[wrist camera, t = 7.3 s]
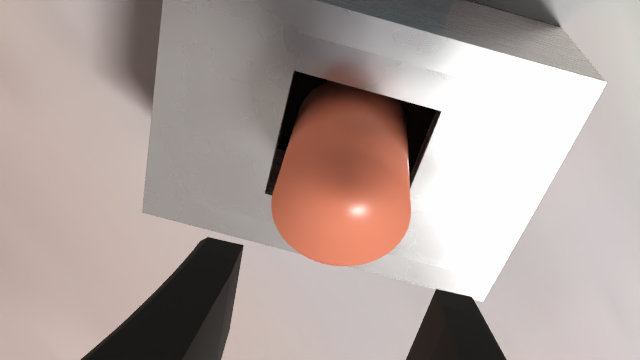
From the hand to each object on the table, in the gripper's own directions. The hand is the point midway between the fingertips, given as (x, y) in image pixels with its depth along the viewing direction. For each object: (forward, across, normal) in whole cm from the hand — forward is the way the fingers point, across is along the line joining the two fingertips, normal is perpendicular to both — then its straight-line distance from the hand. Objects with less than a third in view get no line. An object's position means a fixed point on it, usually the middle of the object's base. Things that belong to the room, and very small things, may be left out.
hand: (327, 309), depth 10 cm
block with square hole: (+9, 0, 0) cm, 9 cm away
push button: (+7, 0, 0) cm, 7 cm away
